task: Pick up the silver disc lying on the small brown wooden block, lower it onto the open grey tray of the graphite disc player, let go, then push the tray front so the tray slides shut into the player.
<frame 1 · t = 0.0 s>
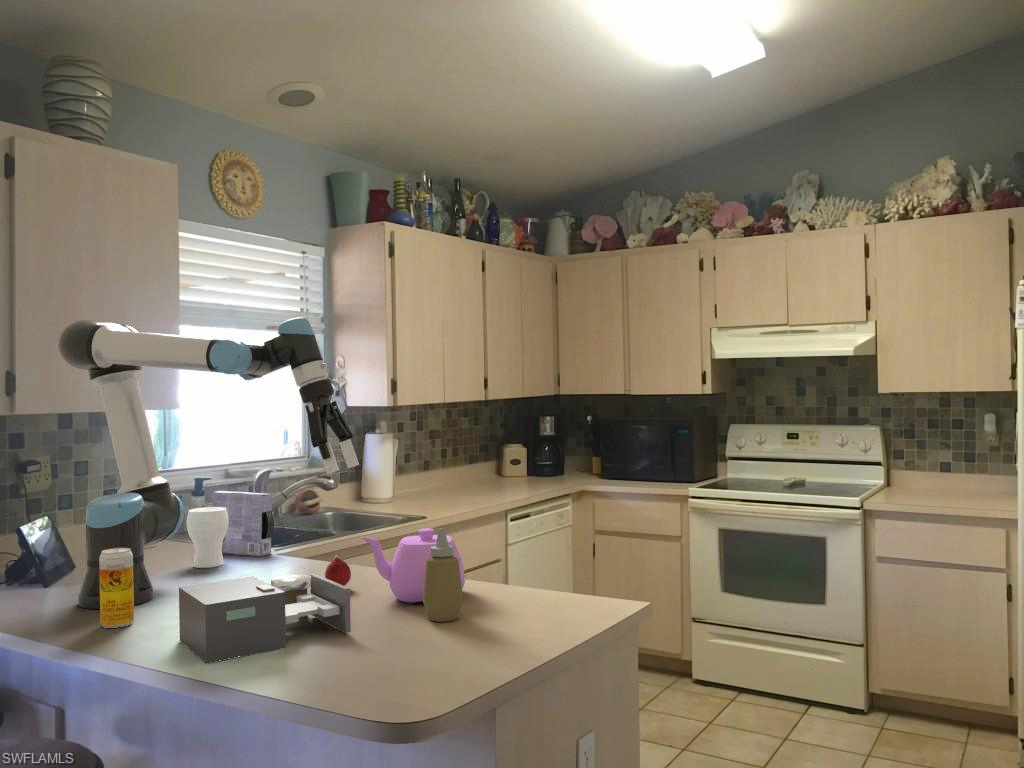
hand: (343, 469, 197), 28 cm above the counter, tool tilted 20°, fingers open, 13 cm apart
teapot: (424, 598, 189), on the counter
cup: (208, 566, 229), on the counter
beer can: (117, 626, 171), on the counter
brown wooden block: (291, 615, 175), on the counter
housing: (231, 644, 156), on the counter
squeeze bottle: (443, 619, 171), on the counter
cake pan box: (242, 554, 245), on the counter
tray: (298, 607, 163), point 5 cm above the counter, slide at 11.5 cm
disc: (291, 586, 175), point 6 cm above the counter, touching brown wooden block
onion: (338, 591, 197), on the counter
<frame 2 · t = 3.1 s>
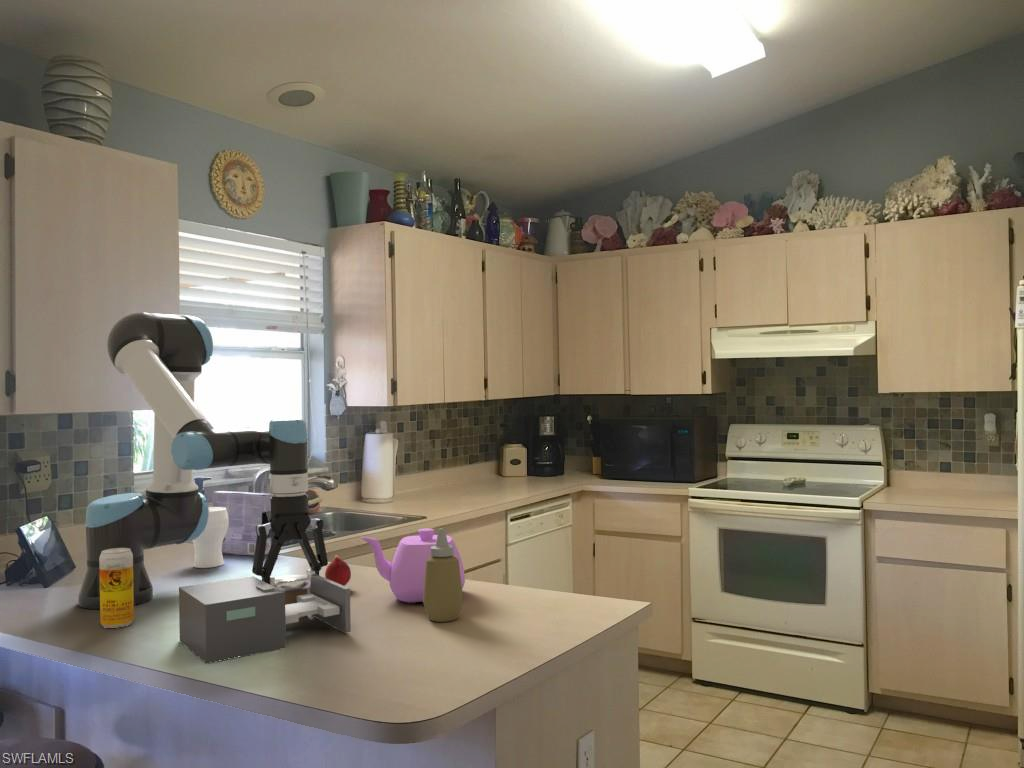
hand: (291, 604, 175), 2 cm above the counter, tool pointing down, fingers closed on disc, 8 cm apart
disc: (291, 586, 175), point 6 cm above the counter, touching gripper, brown wooden block
everything else where it was.
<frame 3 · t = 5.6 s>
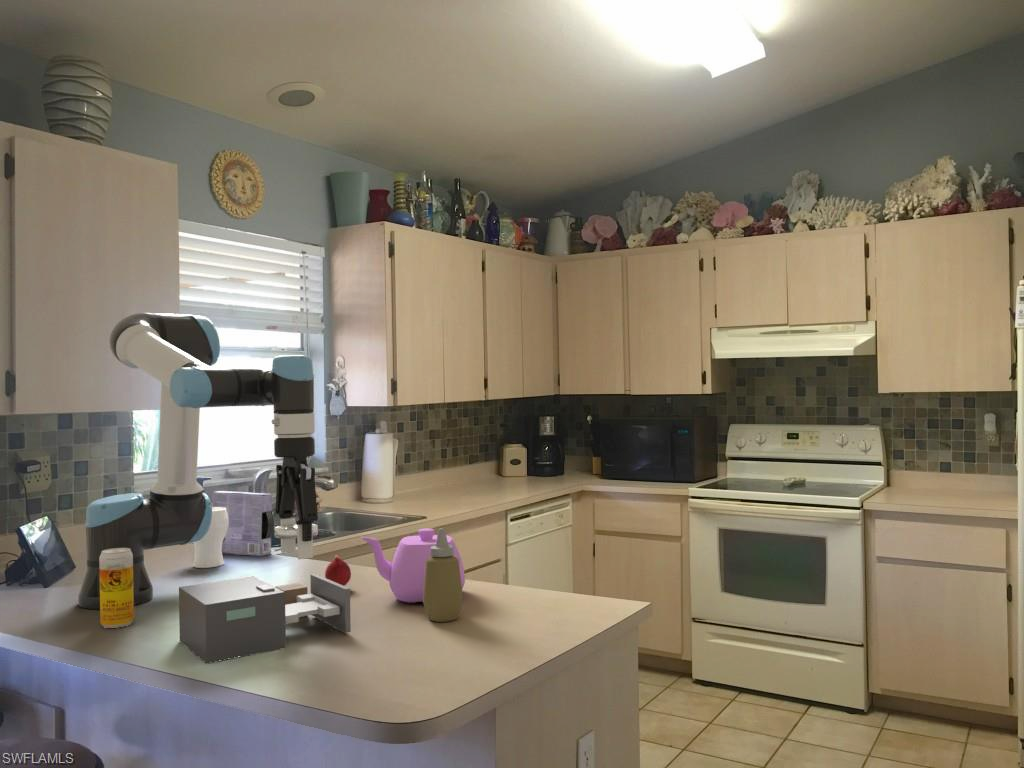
hand: (296, 554, 163), 15 cm above the counter, tool pointing down, fingers closed on disc, 8 cm apart
disc: (296, 535, 163), point 18 cm above the counter, touching gripper
everything else where it was.
when the fingers open (2 cm above the counter, at t = 7.9 s): disc stays where it is, resting on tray.
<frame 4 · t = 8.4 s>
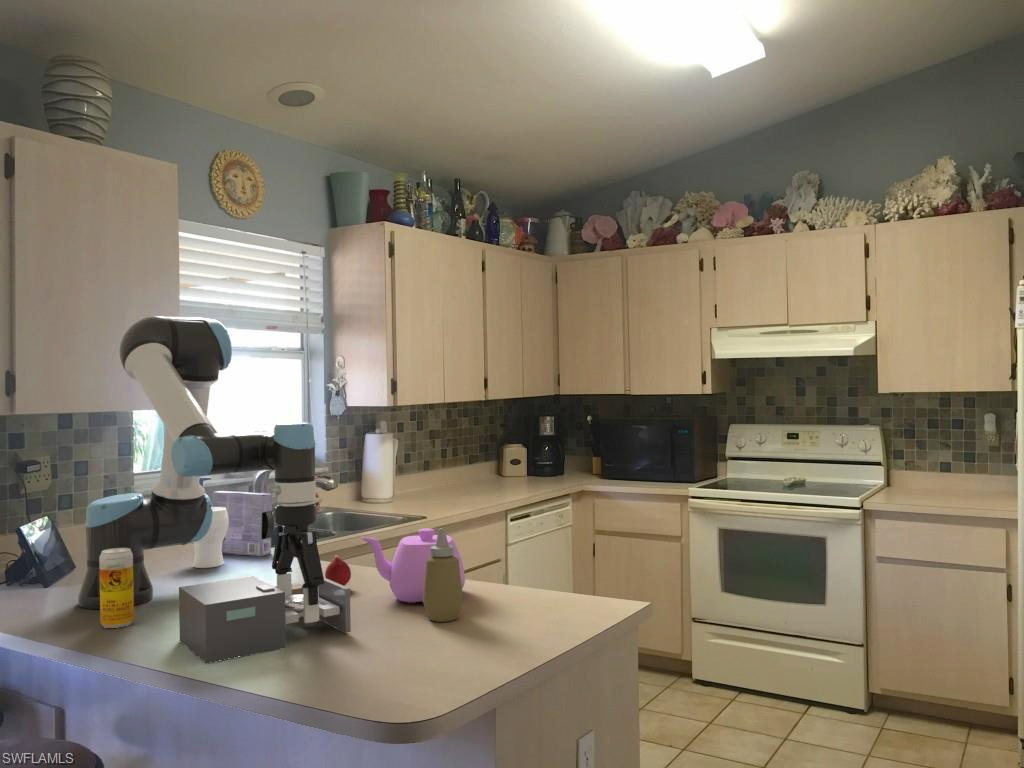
hand: (297, 614, 163), 3 cm above the counter, tool pointing down, fingers open, 13 cm apart
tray: (298, 607, 163), point 5 cm above the counter, slide at 11.5 cm, touching disc
disc: (297, 607, 163), point 5 cm above the counter, touching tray
everything else where it was.
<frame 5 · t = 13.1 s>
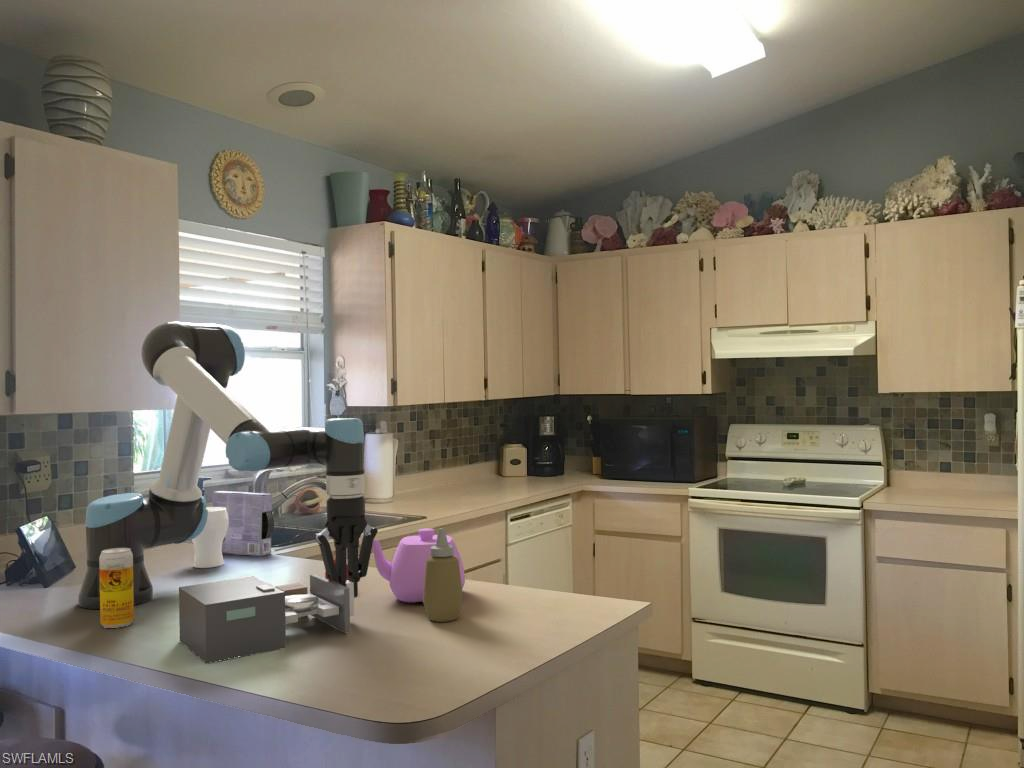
hand: (347, 614, 169), 2 cm above the counter, tool pointing down, fingers closed
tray: (297, 607, 163), point 5 cm above the counter, slide at 11.4 cm, touching disc, gripper
everything else where it was.
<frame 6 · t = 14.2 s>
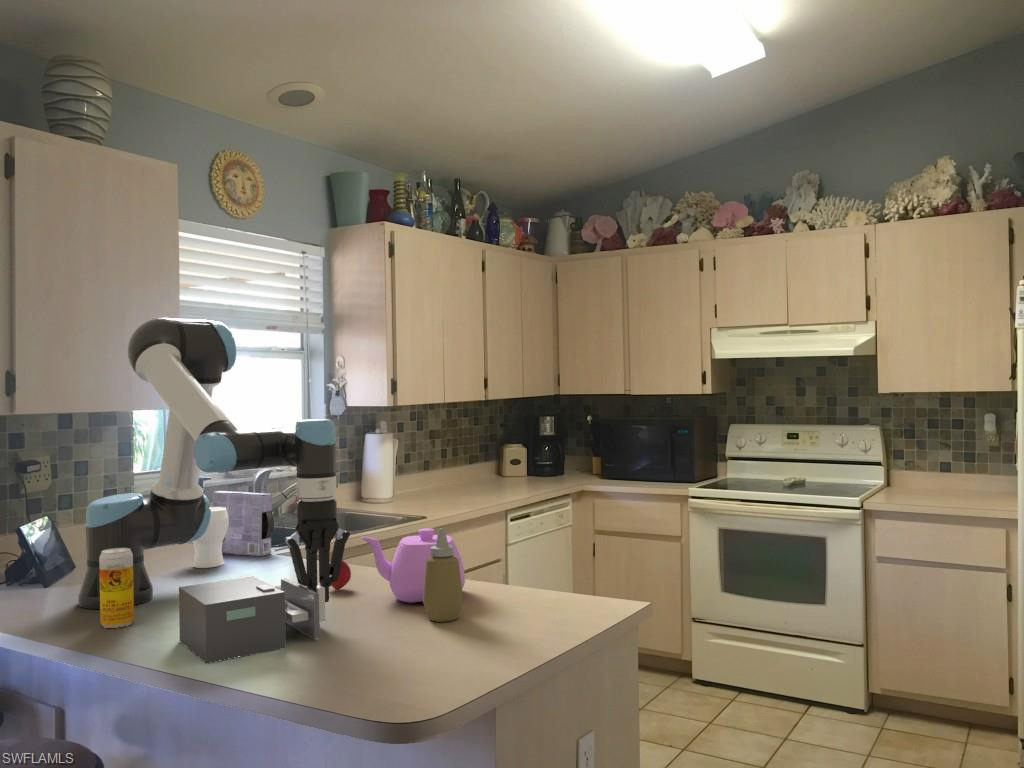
hand: (319, 619, 166), 2 cm above the counter, tool pointing down, fingers closed
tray: (266, 613, 160), point 5 cm above the counter, slide at 5.3 cm, touching disc, gripper
disc: (265, 613, 160), point 5 cm above the counter, touching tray
everything else where it was.
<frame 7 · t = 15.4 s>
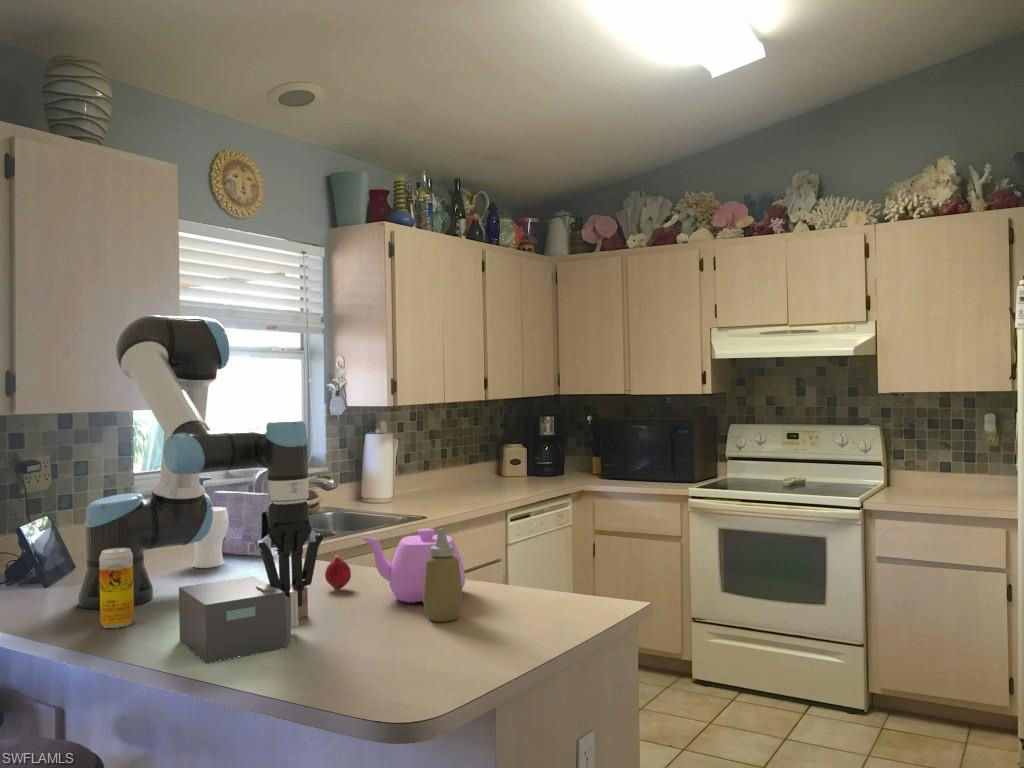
hand: (292, 624, 163), 2 cm above the counter, tool pointing down, fingers closed
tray: (237, 618, 157), point 5 cm above the counter, slide at -0.1 cm, touching disc, gripper
disc: (236, 618, 157), point 5 cm above the counter, touching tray
everything else where it was.
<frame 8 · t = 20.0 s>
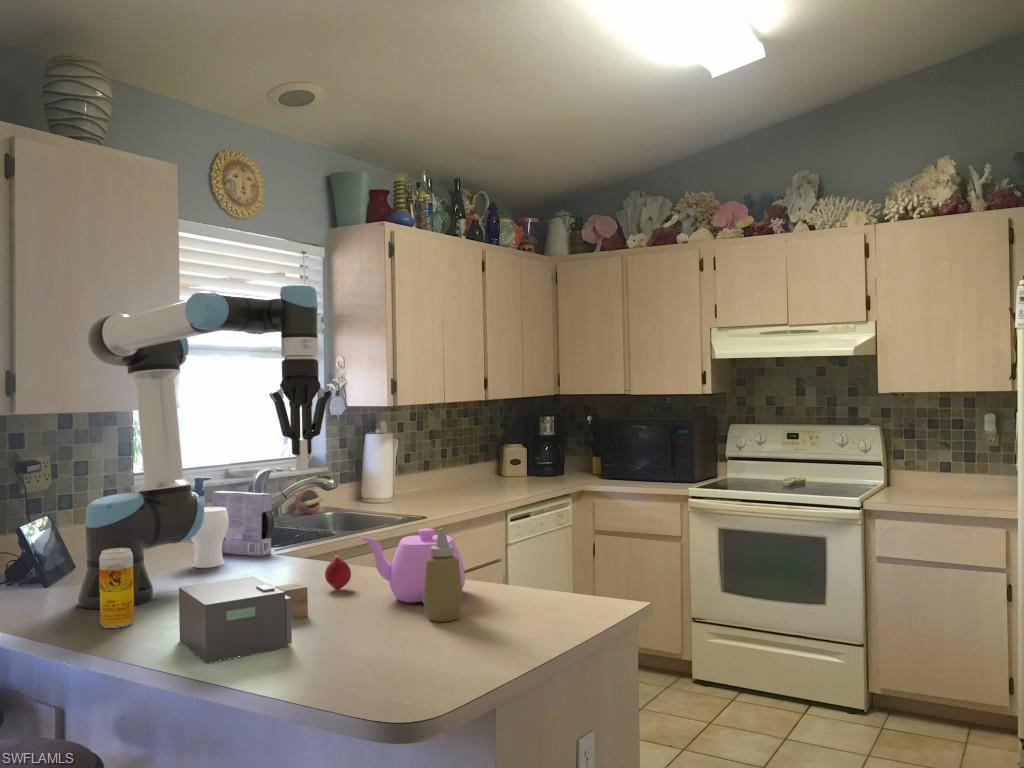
hand: (302, 470, 180), 29 cm above the counter, tool pointing down, fingers closed
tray: (238, 617, 157), point 5 cm above the counter, slide at 0.0 cm, touching disc
everything else where it was.
at the end: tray slide at 0.0 cm; disc inside the target area on the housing (0.4 cm from its centre), point 4.6 cm above the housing's base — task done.
